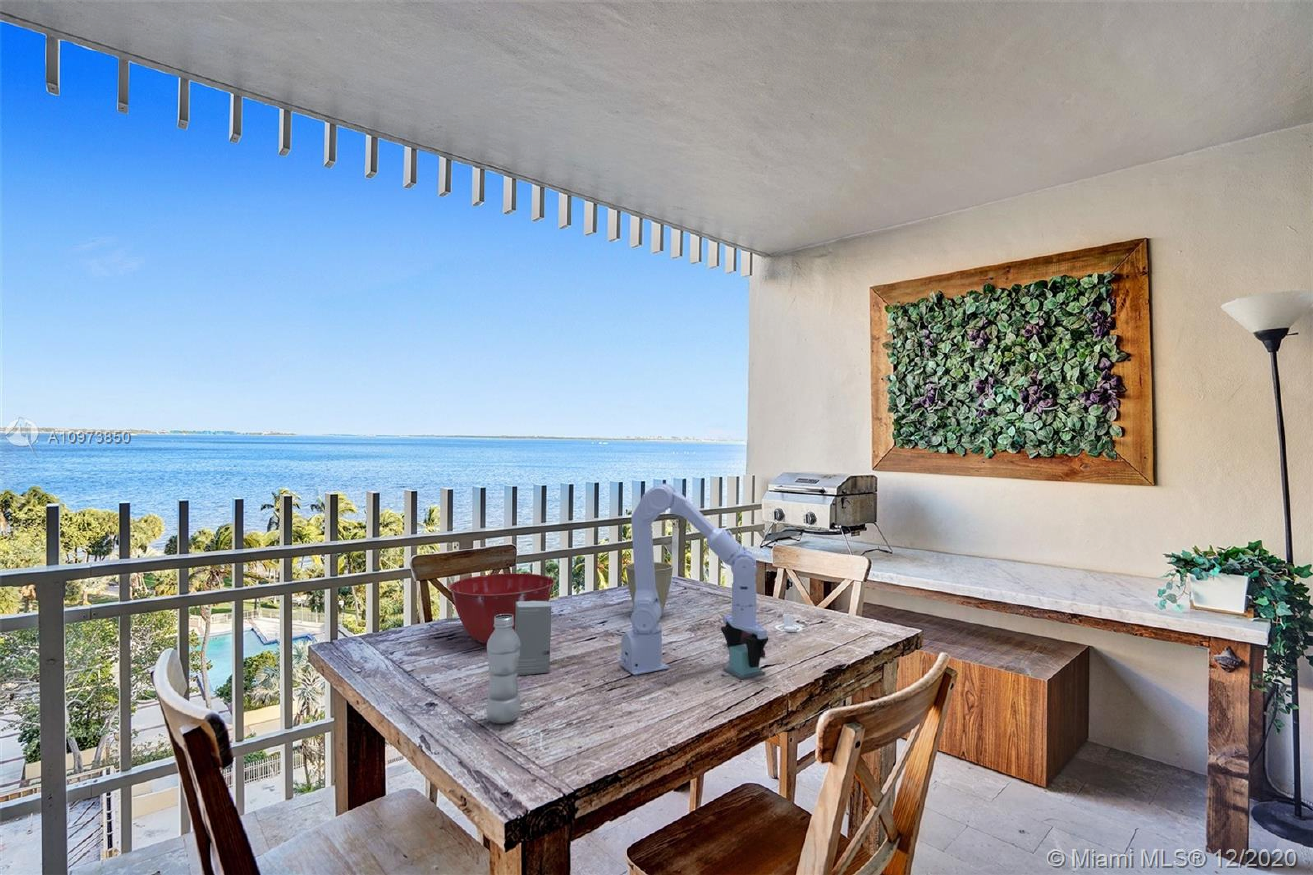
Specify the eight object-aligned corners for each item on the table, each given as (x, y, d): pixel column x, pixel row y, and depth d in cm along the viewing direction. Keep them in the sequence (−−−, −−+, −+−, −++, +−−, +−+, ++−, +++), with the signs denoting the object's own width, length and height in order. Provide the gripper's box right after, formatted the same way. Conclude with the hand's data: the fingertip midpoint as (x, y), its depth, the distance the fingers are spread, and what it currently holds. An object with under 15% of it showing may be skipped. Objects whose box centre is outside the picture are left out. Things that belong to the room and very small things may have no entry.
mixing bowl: (432, 636, 170) (432, 580, 171) (523, 617, 189) (523, 568, 190) (476, 662, 149) (477, 599, 150) (574, 639, 168) (574, 583, 168)
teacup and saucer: (796, 636, 173) (796, 621, 173) (770, 631, 177) (770, 617, 177) (806, 628, 181) (806, 614, 181) (780, 624, 185) (780, 610, 185)
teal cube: (742, 675, 140) (742, 653, 140) (729, 668, 144) (729, 646, 144) (759, 671, 142) (759, 649, 142) (746, 664, 147) (746, 643, 147)
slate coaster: (740, 679, 139) (740, 677, 139) (723, 670, 145) (723, 667, 145) (765, 674, 142) (765, 672, 142) (747, 665, 148) (747, 662, 148)
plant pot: (681, 614, 193) (681, 564, 194) (656, 626, 181) (656, 572, 181) (642, 608, 201) (642, 559, 202) (615, 618, 189) (616, 567, 189)
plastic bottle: (523, 712, 121) (523, 611, 121) (516, 728, 114) (517, 621, 115) (490, 713, 121) (491, 611, 121) (481, 728, 114) (482, 621, 114)
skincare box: (514, 676, 140) (515, 607, 140) (513, 666, 147) (513, 600, 147) (551, 673, 142) (552, 605, 143) (548, 663, 149) (549, 598, 150)
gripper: (777, 608, 139) (777, 668, 139) (739, 595, 152) (739, 650, 152) (752, 612, 136) (752, 673, 136) (716, 598, 149) (715, 654, 148)
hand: (744, 661), depth 143 cm, fingers open, 7 cm apart
